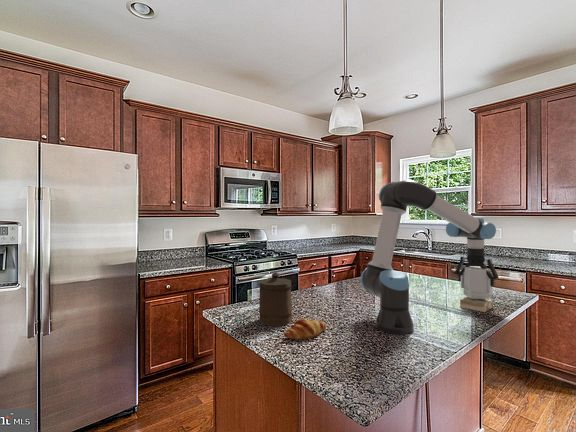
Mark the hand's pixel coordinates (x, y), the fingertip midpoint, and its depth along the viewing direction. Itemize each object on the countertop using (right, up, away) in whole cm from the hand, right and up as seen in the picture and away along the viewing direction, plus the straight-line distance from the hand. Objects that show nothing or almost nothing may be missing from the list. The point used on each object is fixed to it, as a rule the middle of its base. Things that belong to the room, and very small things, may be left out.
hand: (475, 290), depth 159 cm
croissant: (-88, -11, -33) cm, 94 cm away
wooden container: (-101, -11, -16) cm, 103 cm away
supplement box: (0, -4, 0) cm, 4 cm away
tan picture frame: (0, -9, 0) cm, 9 cm away
